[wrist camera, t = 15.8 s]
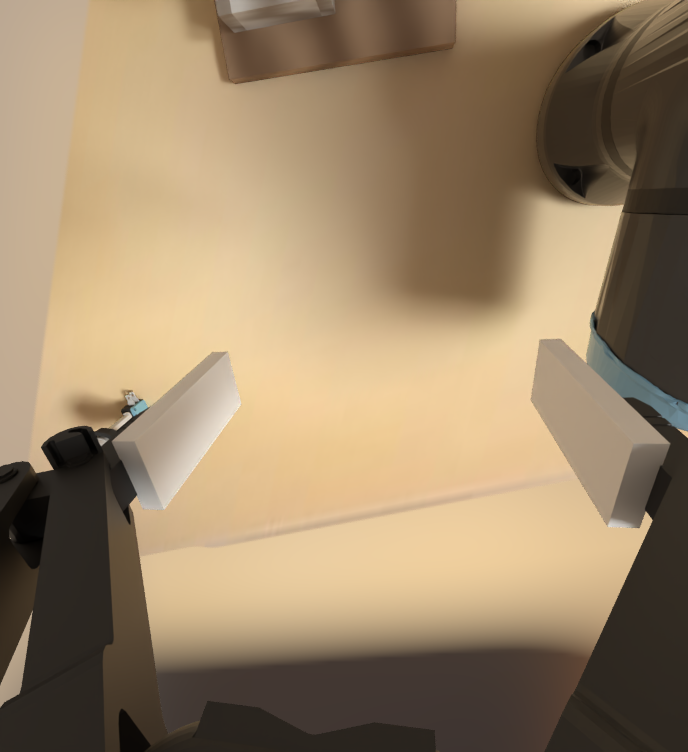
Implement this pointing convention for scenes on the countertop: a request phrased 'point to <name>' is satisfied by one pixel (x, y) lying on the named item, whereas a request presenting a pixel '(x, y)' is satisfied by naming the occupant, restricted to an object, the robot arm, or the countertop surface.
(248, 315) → the countertop surface
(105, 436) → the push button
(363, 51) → the socket board
